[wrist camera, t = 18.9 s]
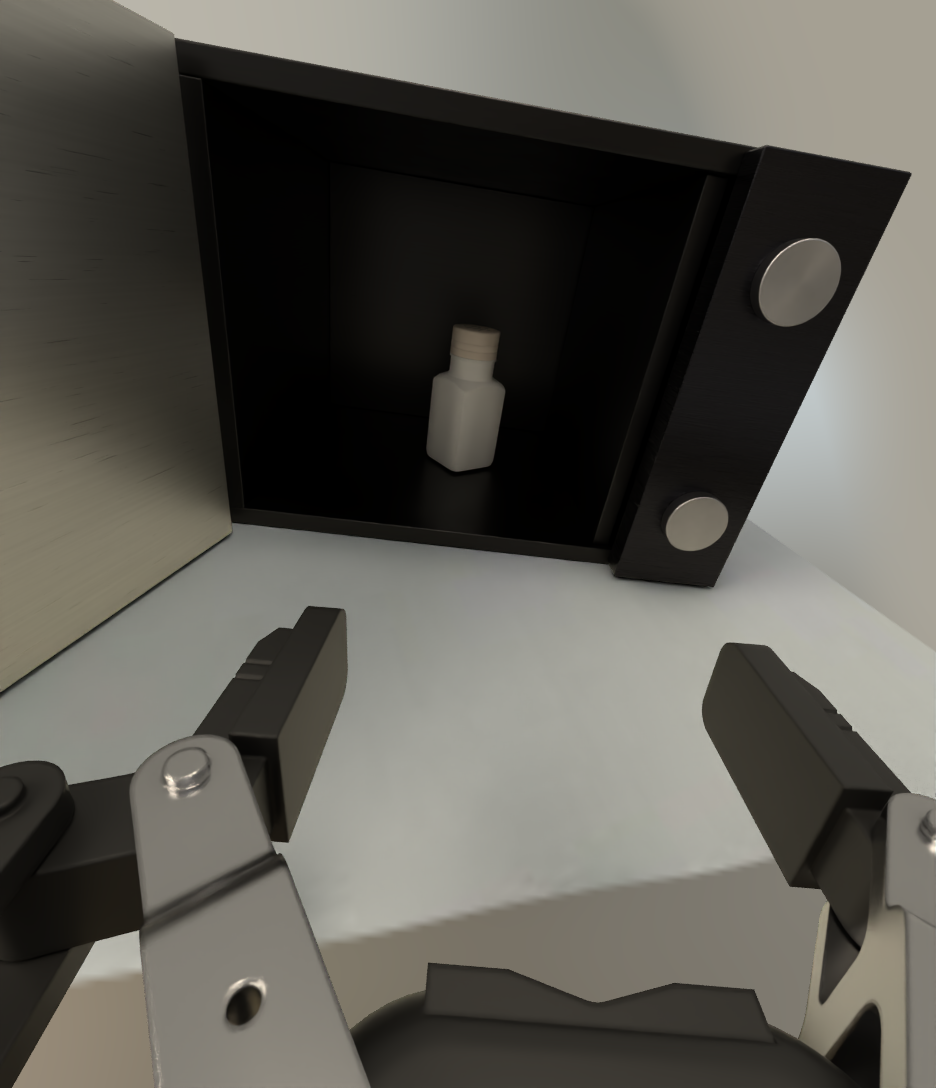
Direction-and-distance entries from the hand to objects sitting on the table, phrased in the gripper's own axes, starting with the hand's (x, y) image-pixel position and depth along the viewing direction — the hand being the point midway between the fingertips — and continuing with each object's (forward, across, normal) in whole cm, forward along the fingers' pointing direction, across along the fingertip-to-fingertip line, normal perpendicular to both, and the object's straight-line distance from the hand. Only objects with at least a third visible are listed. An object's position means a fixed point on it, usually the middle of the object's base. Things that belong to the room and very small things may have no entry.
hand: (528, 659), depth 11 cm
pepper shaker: (+28, +3, +4) cm, 29 cm away
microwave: (+28, +2, +5) cm, 28 cm away
